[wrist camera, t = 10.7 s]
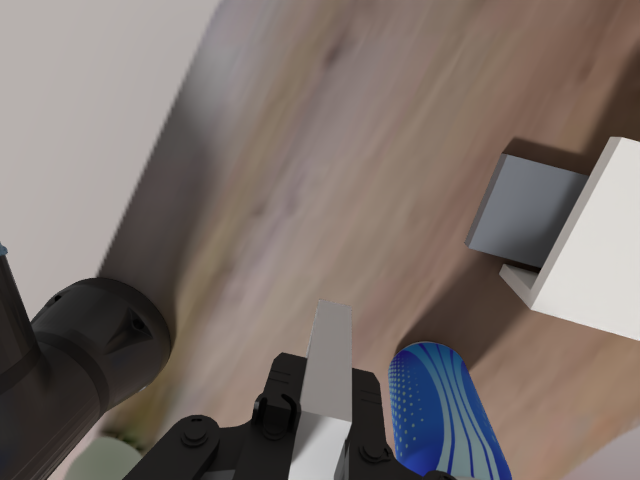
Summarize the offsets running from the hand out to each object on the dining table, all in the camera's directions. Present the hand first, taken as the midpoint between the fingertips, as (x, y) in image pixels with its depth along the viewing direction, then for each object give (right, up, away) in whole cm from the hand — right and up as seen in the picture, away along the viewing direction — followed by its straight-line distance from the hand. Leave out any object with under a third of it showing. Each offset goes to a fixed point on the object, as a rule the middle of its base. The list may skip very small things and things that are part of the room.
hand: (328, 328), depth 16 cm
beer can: (+12, -10, +24) cm, 29 cm away
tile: (+22, +6, +18) cm, 29 cm away
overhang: (+25, +5, +17) cm, 31 cm away
